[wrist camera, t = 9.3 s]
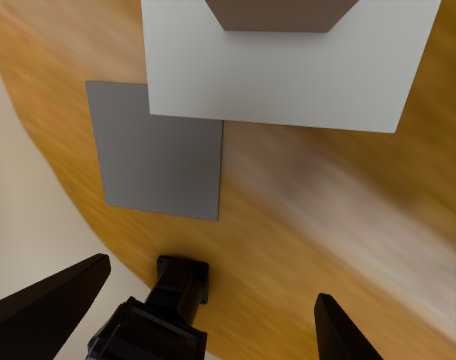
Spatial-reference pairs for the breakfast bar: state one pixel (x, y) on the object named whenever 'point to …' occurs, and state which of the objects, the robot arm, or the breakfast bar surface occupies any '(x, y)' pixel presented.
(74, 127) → the breakfast bar surface
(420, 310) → the breakfast bar surface
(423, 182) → the breakfast bar surface
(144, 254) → the breakfast bar surface
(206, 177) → the mat
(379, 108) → the lid
